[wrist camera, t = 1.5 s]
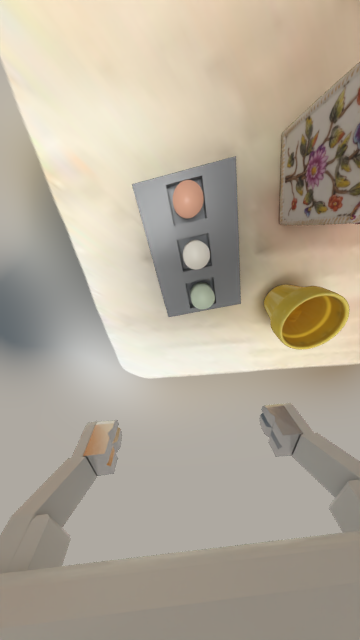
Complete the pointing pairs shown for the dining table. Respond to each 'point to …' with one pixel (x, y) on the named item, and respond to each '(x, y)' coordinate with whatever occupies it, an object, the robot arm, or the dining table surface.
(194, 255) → the ivory button
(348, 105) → the decorative jar
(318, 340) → the plant pot
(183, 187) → the terracotta button
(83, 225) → the dining table surface
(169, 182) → the button console
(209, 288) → the sage button
